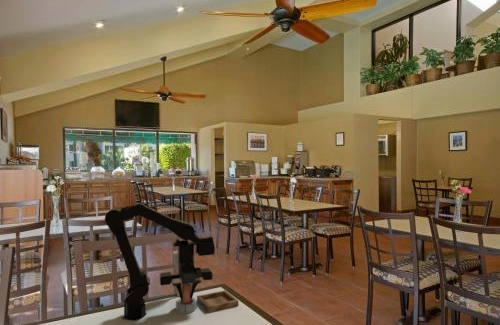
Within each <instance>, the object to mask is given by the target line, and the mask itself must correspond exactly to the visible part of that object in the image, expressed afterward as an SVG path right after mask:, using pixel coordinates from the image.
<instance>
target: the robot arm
mask: <svg viewBox="0 0 500 325" xmlns="http://www.w3.org/2000/svg"><path fill="white" fill-rule="evenodd" d="M138 216H140V217H143V218H145V219H147V220H149V221H151V222H153V223H155V224H157V225H159V226H162V227H164V228H166V229H168V230H170V231H171V232H172V233H173V234H174V235H176V236H177V237H179V238H180V239H181V240H180V239H179V238H176V239H175V241H174V242H172V245H173V247H177V251H178V272H177V274H172V273H171V271H167V272H161V273H160V274H159V285H160V286H169V285H171V284H172V287H175V288H176V290H177V293H178V292H179V295H180V297H179V299H181V301H182V289H181V280H182V284H188V283H190V299H192V298H194V297H193V296H194V293H195V290H196V288H197V286H198V285H199V284H200V283H202V280H203V281H209V280H211V281H213V279H214V278H213V275H214V274H213V272H212V270H211V269H210V268H207V267H205V268H201V267H195V254H198V256H199V257H206V256H214V255H215V254H216V253H215V251H216V250H215V249H216V247H215V242H214V237H213V236H211V235H210V236H207V237H206V236H205V237H199V236H198V234H196V233H195V232H196V231H195V228H194V226H193V225H192V224H191V223H190V222H188V221H184V220H182V219H175V218H174V217H170V216H168V215H166V214H164V213H162V212H161V211H160V212H159V211H157V210H156V209H153V208H151V207H149V206H147V205H145V204H144V203H142V202H137V203H135V204H132V205H129V206H125V207H121V208H119V207H113V208H111V209H109V210H108V212H106V214H105V216H104V222H105V223H106V225H107V227H108V229H109V230H110V232H111V233H112V234H113V235H114V237H115V239H116V242H117V244H118V247H119V250H120V254H121V256H122V259H123V261H124V264H125V266H126V268H127V273H128V276H129V284H130V286H129V288H127V289H126V290H125V298H124V300H123V316H122V317H121V318H120V319H121V320H126V321H134V322H138V321H139V320H141V319H143V318H144V317H145V316H146V315H148V312H146V311H147V310H146V307H147V306H146V302H145V298H144V297H145V296H147V295H148V294H149V290H150V285H151V280H150V277H149V275H148V271H147V268H145V269H144V270H143V269H142V267H140V265H139V262H138V260H137V257H136V254H135V250H134V248H133V246H132V243H131V241H130V238H129V234H128V232H127V227H126V226H127V225H126V221H127V220H131V219H133V218H135V217H138ZM180 279H181V280H180ZM201 279H202V280H201Z"/></svg>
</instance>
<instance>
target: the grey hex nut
mask: <svg viewBox="0 0 500 325" xmlns="http://www.w3.org/2000/svg"><path fill="white" fill-rule="evenodd" d="M197 308H198V301H197V298H195V297H192V299H190V304H186V305H185V304H182V301H181V298H178V299H177V300H176V301H175V311H176V312H177V313H178V314H184V315H185V314H191V313H194V312H195V311H196V310H197Z"/></svg>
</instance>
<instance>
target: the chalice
mask: <svg viewBox="0 0 500 325" xmlns="http://www.w3.org/2000/svg"><path fill="white" fill-rule="evenodd" d="M173 255H174V256H173V257H174V259H173V261H174V263H173V264H174V268H175V270H176V272H177V273H178V250H175V251H173ZM180 282H181V289H182V280H181V279H180ZM176 297H178V298H180V295H179V292H178V291H177V293H176Z"/></svg>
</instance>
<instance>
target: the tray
mask: <svg viewBox="0 0 500 325" xmlns="http://www.w3.org/2000/svg"><path fill="white" fill-rule="evenodd" d="M196 300H197V303H199V305H200V306H202V308H203V309H204V310H205V311H206V312H207V314H208V313H213V312H218V311H223V310H226V309H230V308H234V307H235V308H236V307H239V300H238V299H237V298H236V297H235V296H233V295H232V294H230V293H229V292H228V291H227V290H221V291H215V292H211V293H210V292H209V293H207V294H206V293H205V294H200V295H197V296H196Z"/></svg>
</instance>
